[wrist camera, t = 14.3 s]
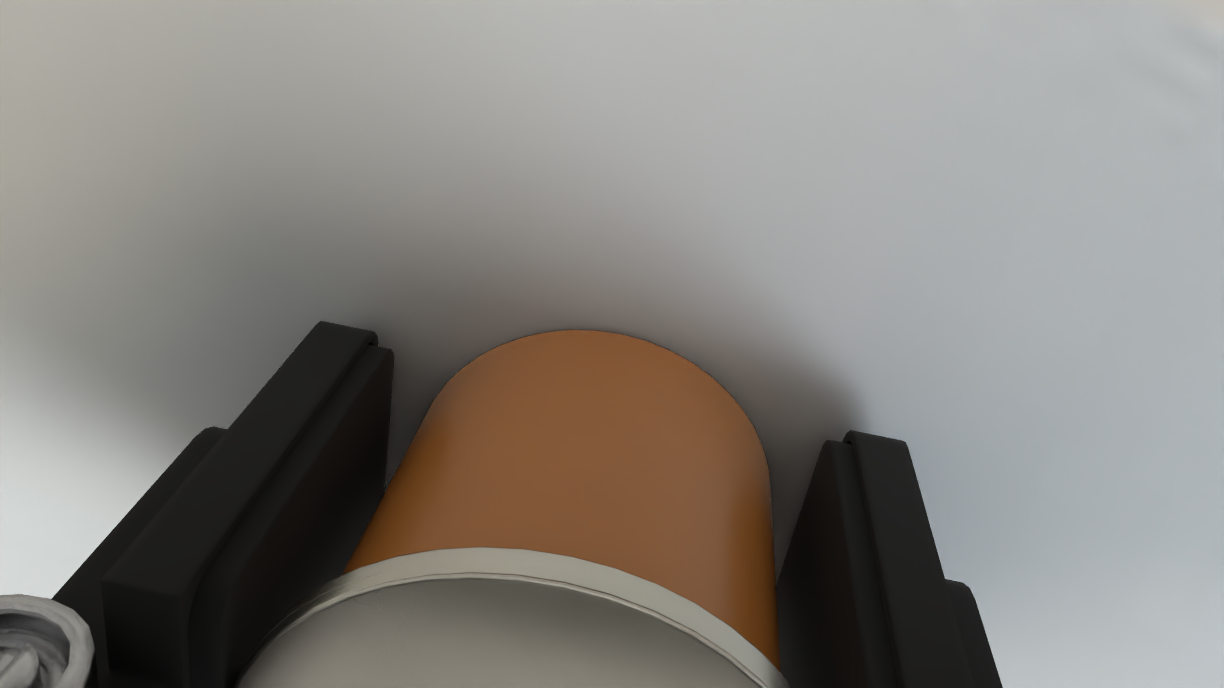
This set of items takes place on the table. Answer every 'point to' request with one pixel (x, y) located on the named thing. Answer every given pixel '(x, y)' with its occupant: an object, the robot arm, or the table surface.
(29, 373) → the table surface
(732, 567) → the coffee pod
